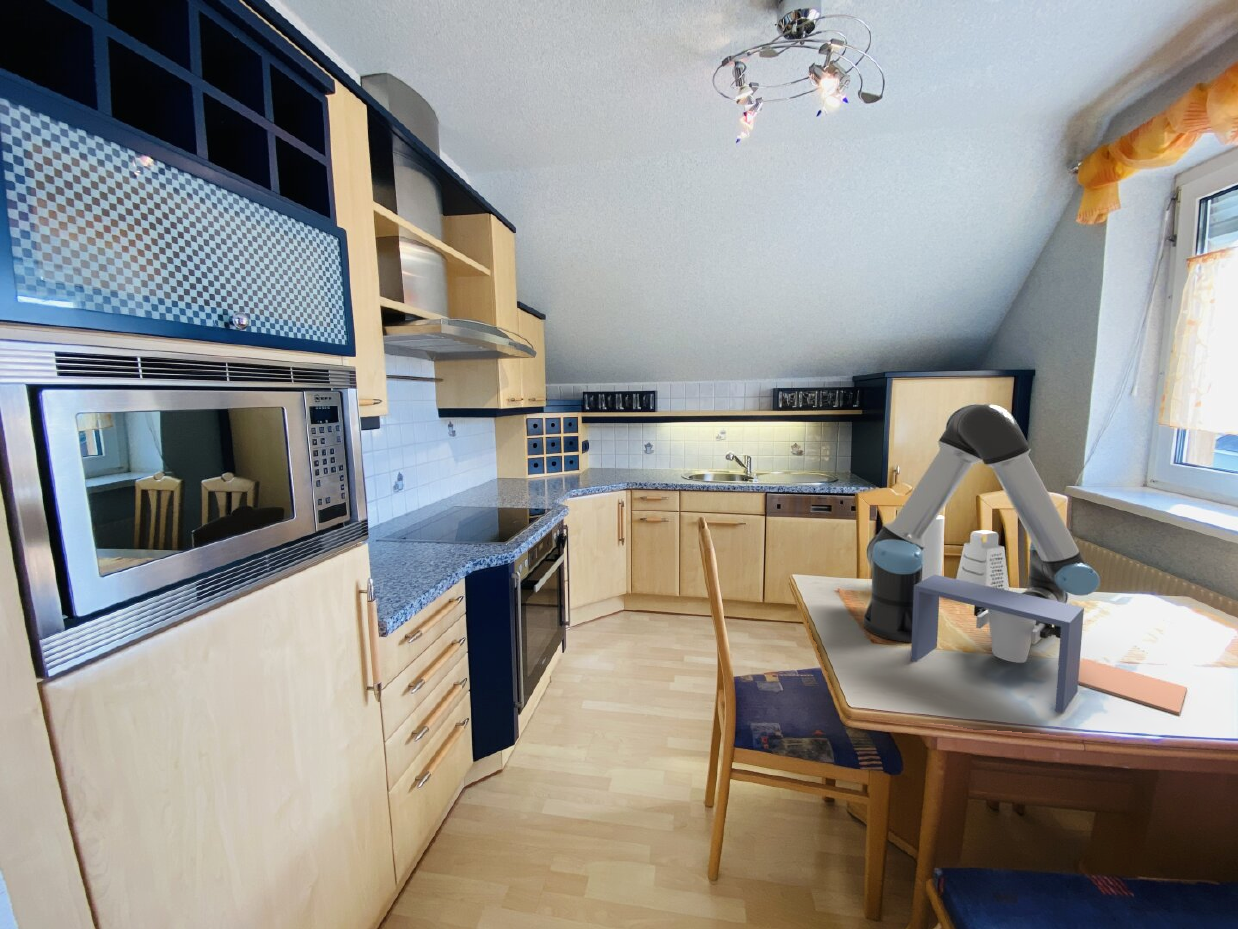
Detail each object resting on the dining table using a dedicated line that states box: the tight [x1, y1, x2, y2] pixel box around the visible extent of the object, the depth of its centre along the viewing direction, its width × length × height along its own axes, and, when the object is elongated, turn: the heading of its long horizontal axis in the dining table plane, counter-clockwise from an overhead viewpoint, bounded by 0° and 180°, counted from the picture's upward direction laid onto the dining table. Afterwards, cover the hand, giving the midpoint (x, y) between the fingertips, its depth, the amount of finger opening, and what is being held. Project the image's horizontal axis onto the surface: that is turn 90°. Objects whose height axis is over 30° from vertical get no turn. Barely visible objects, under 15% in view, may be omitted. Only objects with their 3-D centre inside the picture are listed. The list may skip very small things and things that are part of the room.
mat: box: [1078, 657, 1188, 716], centre depth 105 cm, size 16×14×1 cm
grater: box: [955, 529, 1010, 591], centre depth 159 cm, size 10×10×20 cm
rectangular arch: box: [910, 575, 1085, 714], centre depth 109 cm, size 27×12×18 cm, turn 37°
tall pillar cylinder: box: [922, 514, 945, 581], centre depth 162 cm, size 11×11×25 cm
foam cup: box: [988, 609, 1036, 663], centre depth 115 cm, size 10×9×13 cm
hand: (1004, 629), depth 112 cm, fingers closed on foam cup, 9 cm apart
